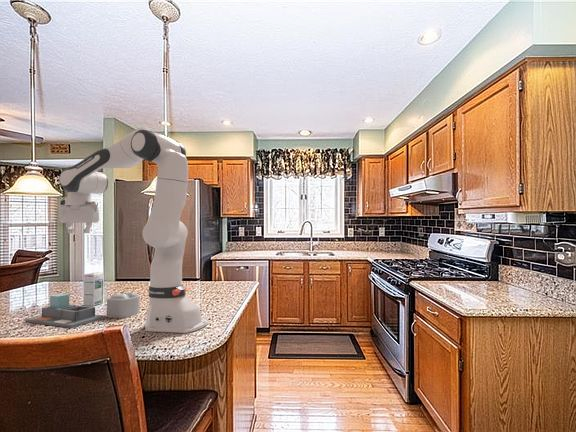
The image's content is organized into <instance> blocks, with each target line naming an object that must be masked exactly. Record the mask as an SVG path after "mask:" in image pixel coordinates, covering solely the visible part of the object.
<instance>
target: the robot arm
mask: <svg viewBox="0 0 576 432" xmlns="http://www.w3.org/2000/svg"><path fill="white" fill-rule="evenodd" d="M186 156H187V152H186V149H185V146H184V145H183V144H182V143H180V142H179V141H177V140H175V139H172V138H170V137H167V136H166V135H164V134H160V133H158V132H154V131H153V130H151V129H149V128H146V127H138V128H136V129H134V130H132V131H131V132H129V133H128V134H126V135H125V136H123V137H122V138H121V139H119V141H117V142H116V143H115V142H114V143H113V144H112V145H109V146H106V147H104V148H102V149H100V150H97V151H95V152H93V153H91V154H90V155H89V156H87V157H85V158H84V159H82V160H81V161H79V162H78V163H76V164H74V165H71V166H68V167H66V168H65V169H64V170H62V171H61V173H60V174H59V178H58V182H59V184H60V186H61V187H62V188H63V189H64V190H65V192H67V197H65V198H63V199H61V200H59V202H58V206H60V207H59V209H58V221H59V223H62V224H63V223H64V224H65V226H66V229H67V234H74V231H75V229H73V223H74V224H76V223H77V224H79V223H80V224H81V223H82V224H84V223H85V228H83V234H90V231H91V229H92V227H93V223H95V224H97V223H99V221H100V211H99V207H98V203H97V202H96V201H93V200H92V194H95V195H100V194H104V193H105V192H106V191H107V189H108V187H109V179H108V177H107V175H106V174H104V173H102V172H100V170H102V169H111V168H112V169H130V168H134V167H135V166H137V165H139V164H140V163H141V162H142V161H144V160H145V161H147V162H153V163H154V164H156V165H157V176H156V185H155V191H154V192H155V193H154V199H153V204H152V207H151V210H150V213H149V216H148V219H147V222H146V224H145V225H144V227H142V228H143V229H142V238H143V240H144V242H145V243H146V244H147V245H149V246H150V247H153V248H154V249H155V250H154V254H153V257H152V260H151V263H150V269H149V270H150V271H149V272H150V273H149V276H150V277H149V279H150V280H149V281H150V282H149V286H148V292H147V293H148V297H149V298H148V299H149V302H148V309H147V315H146V319H145V322H144V328H145V332H156V333H157V332H158V333H173V334H175V333H177V334H178V333H179V334H180V333H181V334H186V333H192V332H195V331H199V330H200V329H202V328H205V327H206V326H207V325H208V320H207V319H202V312H201V308H200V307H199V305H197V304H196V303H195V302H194V301H193V300H192V299H191V298H189V297H188V296H187V294H186V292H188V291H189V287H184V285H183V261H184V255H185V250H186V249H185V248H186V241H187V238H188V233H189V231H188V227H187V226H186V225H185V224H184V223H183V221H181V217H182V213H183V210H184V208H185V206H186V204H187V197H188V195H187V194H188V182H189V163H188V159H187V157H186Z"/></svg>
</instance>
